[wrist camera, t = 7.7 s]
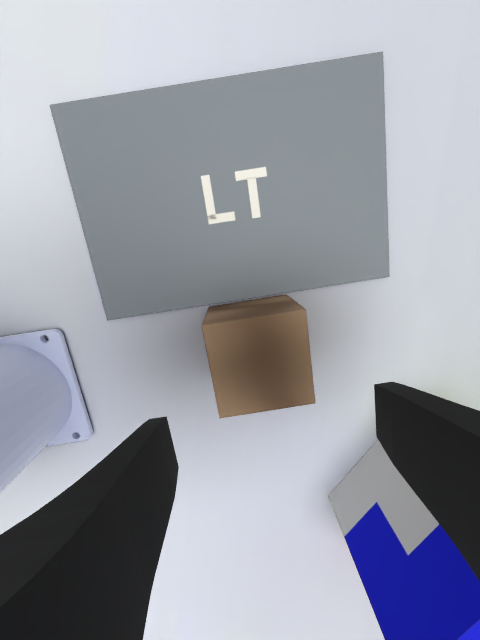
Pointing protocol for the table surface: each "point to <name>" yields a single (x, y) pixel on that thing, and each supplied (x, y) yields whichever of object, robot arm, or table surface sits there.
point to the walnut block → (259, 355)
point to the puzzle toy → (404, 556)
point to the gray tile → (232, 185)
